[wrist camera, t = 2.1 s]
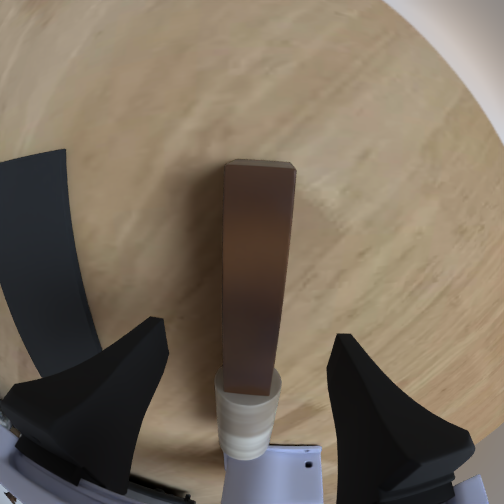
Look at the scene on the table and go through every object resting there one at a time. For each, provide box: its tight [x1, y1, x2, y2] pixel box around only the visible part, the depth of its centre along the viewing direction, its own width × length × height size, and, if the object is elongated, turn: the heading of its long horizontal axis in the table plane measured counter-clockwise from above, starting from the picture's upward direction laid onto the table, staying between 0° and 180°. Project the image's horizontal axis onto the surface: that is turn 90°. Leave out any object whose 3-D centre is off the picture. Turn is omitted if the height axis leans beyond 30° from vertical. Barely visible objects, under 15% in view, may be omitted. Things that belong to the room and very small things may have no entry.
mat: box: [0, 149, 102, 378], centre depth 17 cm, size 11×22×1 cm, turn 177°
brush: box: [214, 159, 296, 460], centre depth 15 cm, size 20×4×4 cm, turn 177°
